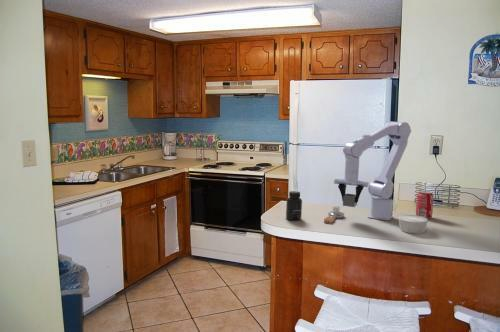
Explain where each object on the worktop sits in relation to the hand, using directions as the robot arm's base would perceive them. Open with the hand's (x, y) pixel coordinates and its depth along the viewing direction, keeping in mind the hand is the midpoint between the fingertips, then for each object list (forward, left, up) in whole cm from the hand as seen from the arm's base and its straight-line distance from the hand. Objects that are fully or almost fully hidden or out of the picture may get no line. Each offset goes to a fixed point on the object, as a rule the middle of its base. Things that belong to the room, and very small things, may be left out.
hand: (350, 201), depth 181 cm
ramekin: (-26, +1, -9) cm, 28 cm away
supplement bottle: (+22, +10, -9) cm, 26 cm away
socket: (0, 0, -2) cm, 2 cm away
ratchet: (+7, +1, -8) cm, 11 cm away
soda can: (-28, -24, -9) cm, 38 cm away
